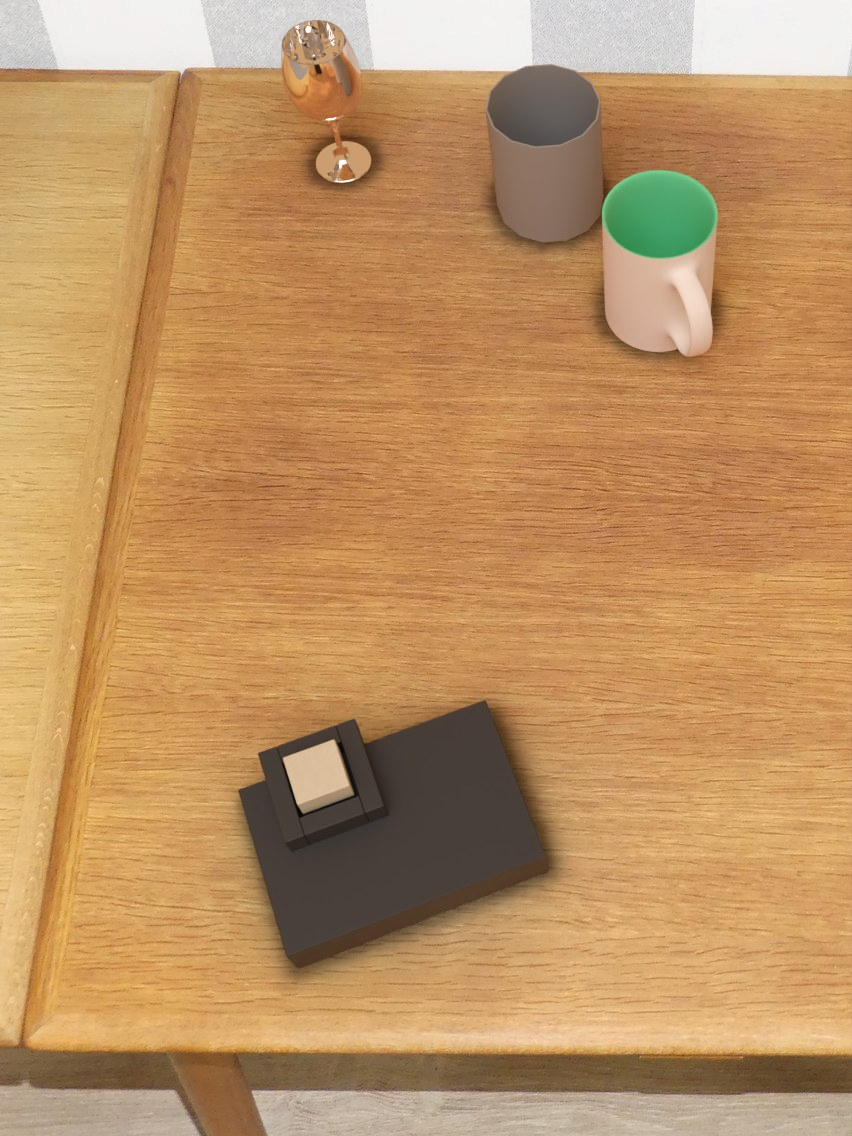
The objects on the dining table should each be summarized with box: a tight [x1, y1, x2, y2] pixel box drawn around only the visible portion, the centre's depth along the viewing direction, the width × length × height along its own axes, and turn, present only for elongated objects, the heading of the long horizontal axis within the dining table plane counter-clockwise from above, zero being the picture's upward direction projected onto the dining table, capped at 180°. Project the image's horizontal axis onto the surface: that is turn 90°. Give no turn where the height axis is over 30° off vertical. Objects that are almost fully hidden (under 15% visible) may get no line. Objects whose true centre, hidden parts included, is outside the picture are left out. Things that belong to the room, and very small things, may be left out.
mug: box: [601, 169, 719, 358], centre depth 103 cm, size 12×8×10 cm, turn 26°
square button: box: [283, 740, 354, 814], centre depth 86 cm, size 3×3×2 cm
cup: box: [484, 63, 604, 243], centre depth 109 cm, size 8×8×10 cm
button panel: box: [238, 699, 549, 970], centre depth 88 cm, size 12×16×5 cm
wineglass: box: [280, 19, 372, 184], centre depth 110 cm, size 6×6×12 cm
